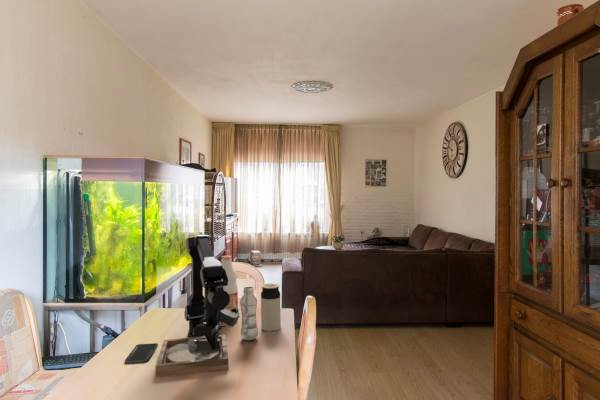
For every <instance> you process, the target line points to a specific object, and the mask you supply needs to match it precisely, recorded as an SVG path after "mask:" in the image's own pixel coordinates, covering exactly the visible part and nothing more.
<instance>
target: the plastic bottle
mask: <svg viewBox="0 0 600 400" xmlns="http://www.w3.org/2000/svg"><path fill="white" fill-rule="evenodd" d="M239 305H240V312H241V327H240V332H239V333H240V338H241V339H242V340H244V341H253V340H256V339H257V337H258V335H259V331H258V325H257V307H258V306H257V305H258V300H257V297H256V296H255V295H254V286H244V287H243V295H242V296H241V298H240V300H239Z"/></svg>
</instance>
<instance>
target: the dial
mask: <svg viewBox="0 0 600 400" xmlns="http://www.w3.org/2000/svg"><path fill="white" fill-rule="evenodd" d="M191 338H192V337H191ZM220 354H221V339H218V341H217V344H216V348H215V349H212V348H211V346H210V344H209V342H208V341H207V339H199V338H192V339H189V340H188V342H184V343H180V344H177V345H175V346H173V347H171V348H170V349H169V350H168V351H167V353H166V359H167V361H168V362H169V363H172V362H181V361H191V360H194V359H195V360H200V359H210V358H217V357H219V356H220Z"/></svg>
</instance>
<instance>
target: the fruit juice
mask: <svg viewBox="0 0 600 400" xmlns="http://www.w3.org/2000/svg"><path fill="white" fill-rule="evenodd" d="M220 260H221V264H222V266H223V267H224V269H225V270H226V274H227V277H228V282H227V283H228V286H223V287H224V290H225V291H226V292H227V293H228V294H229V296H230V302H229V304H228V305H227V306H226V307H225V309H227V310H229V309H230V311H231V310H232V309H233V308H234V307H235V308H238V309H239V305H238V303H239V299H238V298H239V297H238V296H239V295H238V294H239V291H238V283H237V278H238V274H237V271H236V270H235V268H234V266H233V263H232V262H233V261H232V260H233V255H222V256H220ZM222 281H223V279H222ZM217 282H218V281H217Z"/></svg>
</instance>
